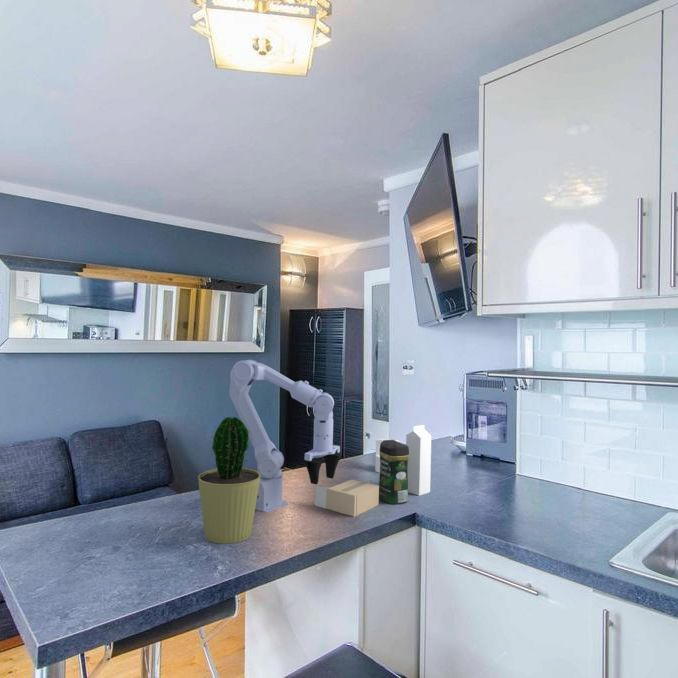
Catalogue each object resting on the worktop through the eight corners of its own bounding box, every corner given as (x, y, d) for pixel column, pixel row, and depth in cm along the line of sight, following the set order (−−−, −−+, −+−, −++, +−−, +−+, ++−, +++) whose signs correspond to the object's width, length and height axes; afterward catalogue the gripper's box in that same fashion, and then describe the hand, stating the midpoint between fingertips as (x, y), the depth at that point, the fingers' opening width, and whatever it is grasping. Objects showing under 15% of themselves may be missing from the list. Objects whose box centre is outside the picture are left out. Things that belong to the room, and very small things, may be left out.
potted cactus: (195, 550, 110) (199, 420, 110) (196, 525, 125) (199, 410, 125) (262, 544, 114) (266, 419, 114) (255, 520, 129) (258, 410, 129)
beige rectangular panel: (354, 516, 133) (354, 495, 133) (315, 505, 141) (315, 485, 141) (355, 515, 134) (356, 494, 134) (316, 504, 142) (317, 485, 142)
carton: (356, 516, 134) (356, 494, 134) (328, 508, 140) (328, 487, 140) (378, 505, 144) (379, 485, 144) (351, 498, 150) (351, 479, 150)
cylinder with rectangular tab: (372, 472, 180) (373, 441, 181) (378, 467, 189) (378, 436, 189) (396, 475, 178) (397, 443, 178) (400, 469, 186) (401, 438, 187)
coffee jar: (374, 497, 152) (375, 438, 152) (395, 494, 155) (397, 437, 155) (389, 507, 143) (391, 445, 143) (412, 503, 146) (413, 443, 146)
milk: (430, 492, 158) (432, 426, 158) (418, 496, 154) (421, 427, 154) (415, 488, 162) (417, 423, 163) (404, 491, 158) (406, 425, 158)
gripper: (318, 440, 132) (317, 489, 132) (348, 432, 144) (347, 477, 144) (299, 436, 137) (298, 484, 136) (329, 430, 148) (328, 473, 148)
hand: (322, 480), depth 141 cm, fingers open, 7 cm apart
